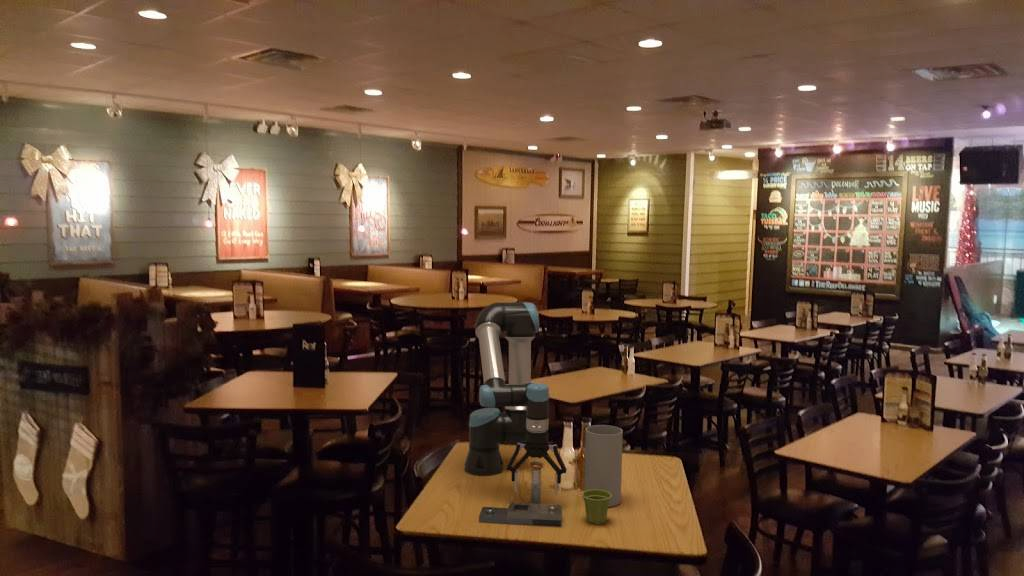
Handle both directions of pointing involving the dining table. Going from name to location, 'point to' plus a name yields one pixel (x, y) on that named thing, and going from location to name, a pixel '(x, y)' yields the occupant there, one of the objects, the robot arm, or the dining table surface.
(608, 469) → the cylinder vase
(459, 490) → the dining table surface
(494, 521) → the stand base plate
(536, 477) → the pin
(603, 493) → the plant pot
